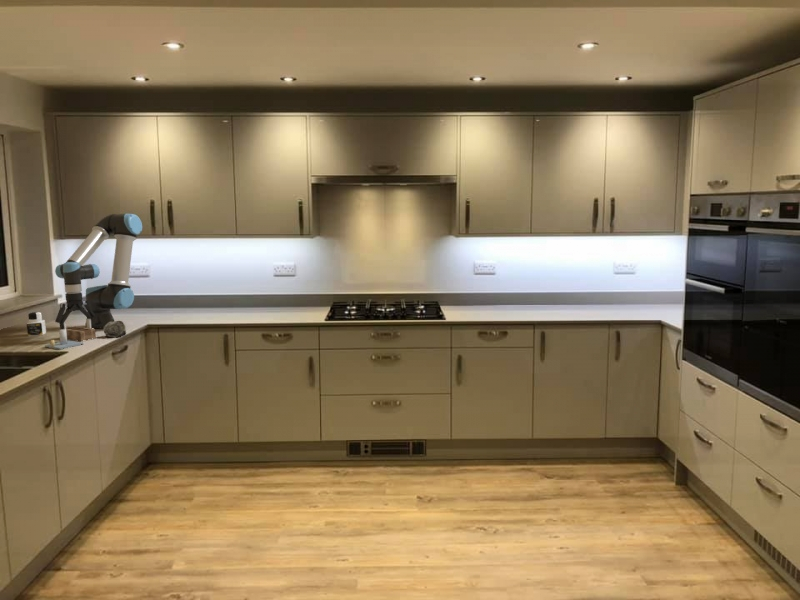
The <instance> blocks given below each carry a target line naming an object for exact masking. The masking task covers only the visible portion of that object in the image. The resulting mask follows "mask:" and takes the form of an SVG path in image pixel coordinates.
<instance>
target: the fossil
mask: <svg viewBox="0 0 800 600" xmlns="http://www.w3.org/2000/svg"><path fill="white" fill-rule="evenodd" d="M102 329H103V333H104V335H105V336H106V337H107V338H111V339H117V338H120V337H122V336H125V335H126V334H127V330H126V324H125V323H124V321H122V320H114V322H108V323H107V324H106V325H105V326H104V328H102Z"/></svg>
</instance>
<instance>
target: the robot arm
mask: <svg viewBox="0 0 800 600" xmlns="http://www.w3.org/2000/svg"><path fill="white" fill-rule="evenodd" d="M142 231H143V224H142V220H141V219H140V217H139V216H138V215H136V214H134V213H111V214H108V215H106V216H104V217H103V218H101V219H100V220H98V221H97V222H96V224H95V225H94V226H93V227H92V229H91V232H90V233H89V235H88V236H87V237H86V238H85V240H83V242H82V243H81V244H80V245H79V246H78V247H77V248H76V250H75V251H74V252H73V253H72V255H71V256H70V257H69V258H68V259H67V260H66V261H65V262H63V263H61V264H58V265H57V266H56V267H55V269H54V273H55V275H56V277H58V278H59V279H63V282H64V292H65V301H66V303H63V302H62V303H60V304H59V306H60V308H59V311H58V313H57V316H56V318H55V323H57V324H59V330H60V329H61V330H62V329H66V328H67V323H66V320H67V318H68V317H69V316H70V314H71V313H72V312H76V311H80V313H82V314H83V315H84V316H85V317H86V318H85V328H99V329H103V328H104V326H105V325H106V324H107V323H108V322H114V321H115V319H114V317H113V314H112V313H111V311H112V309H113V310H126V309H129V308H130V307H131V306H132V304H133V302H134V300H135V294H134V291H133V290H132V289H131V288H132V287H131V285H130V284H129V278H130V271H131V270H130V269H131V260H132V254H133V253H132V251H133V245H134V241H135V240H137V237H138V235H140V234H141V233H142ZM112 236H113V237H114V238H115V239H116V241H115V249H114V257H113V266H112V274H111V281H110V282H108V283H107V284H104V285H102V284H101V285H97V286H96V285H95V286H90V287H88V288H87V287H86V288H85V300H83V291H82V290H83V289H82V280H93V279H97V278H98V277H99V276H100V268H99V266H98V265H96V264H91V263H88V264H87V263H86V262H87V261H88V260H90V258H91V257H92V256H93V254H94V253H95V252H96V251H97V249H98V248H99V247H100V246H101V245H102V243H104V241H106V240H109V238H110V237H112ZM83 305H84V306H83ZM66 334H67V332H66Z"/></svg>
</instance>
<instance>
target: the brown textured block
mask: <svg viewBox="0 0 800 600" xmlns="http://www.w3.org/2000/svg"><path fill="white" fill-rule="evenodd" d="M59 330H61V329H60V328H59ZM66 332H67V339H70V340H69V341H74V340H78V341H77V342H81V341H82V342H84V341H83V340H86V341H89V340H88V339H91V340H93V339H92V338H95V339H96V336H97V334H96V329H92V328H86V327H83V326H76V325H75V326H70V327H66Z"/></svg>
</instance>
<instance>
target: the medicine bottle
mask: <svg viewBox="0 0 800 600" xmlns="http://www.w3.org/2000/svg"><path fill="white" fill-rule="evenodd" d="M26 332H27V337H36V336H37V337H38V335H40V336H43V335H45V334H46V333H47V327H46V320H45V319H43V316H42V312H39V311H35V312H29V313H28V322H27V323H26Z"/></svg>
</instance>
